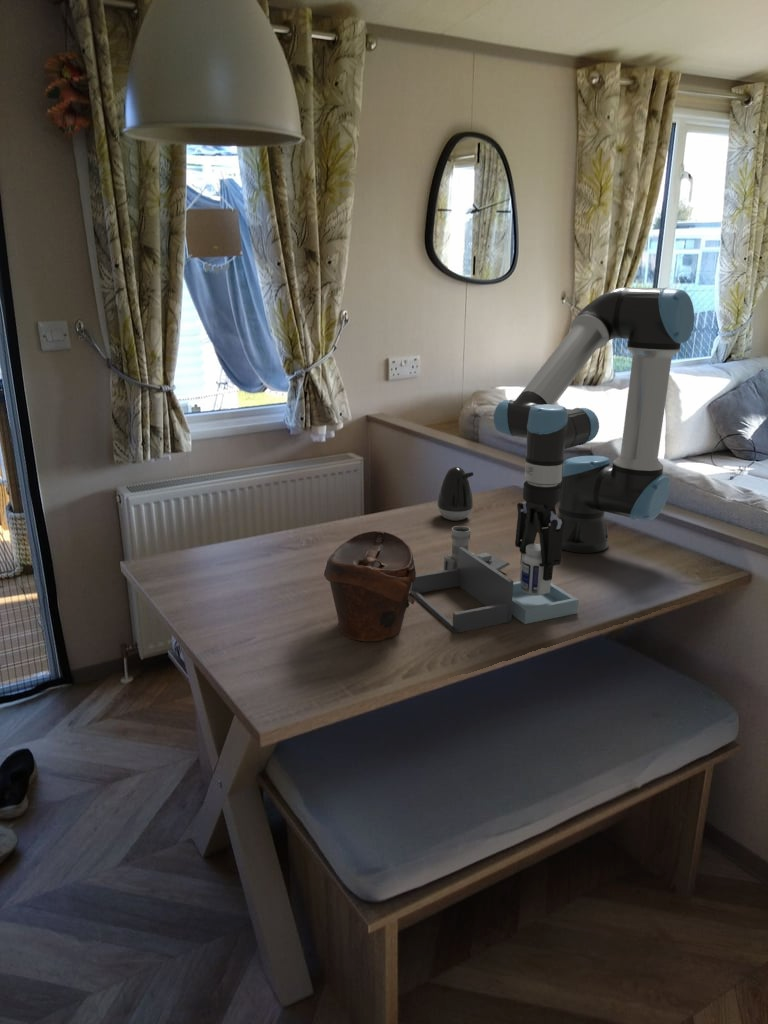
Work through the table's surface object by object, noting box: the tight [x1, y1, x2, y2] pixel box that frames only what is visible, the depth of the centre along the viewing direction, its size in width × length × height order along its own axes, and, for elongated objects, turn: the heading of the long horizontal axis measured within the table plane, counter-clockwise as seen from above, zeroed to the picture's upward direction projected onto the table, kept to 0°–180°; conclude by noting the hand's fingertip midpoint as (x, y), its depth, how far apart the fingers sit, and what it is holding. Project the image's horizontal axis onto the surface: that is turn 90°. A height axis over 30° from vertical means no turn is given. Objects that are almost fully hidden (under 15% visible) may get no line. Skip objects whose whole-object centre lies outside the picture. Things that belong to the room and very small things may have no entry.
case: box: [323, 530, 417, 643], centre depth 147 cm, size 18×20×18 cm
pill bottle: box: [521, 543, 548, 595], centre depth 158 cm, size 6×6×10 cm
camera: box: [443, 525, 510, 572], centre depth 176 cm, size 9×12×15 cm
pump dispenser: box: [436, 466, 474, 522], centre depth 214 cm, size 10×10×15 cm
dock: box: [409, 547, 515, 634], centre depth 158 cm, size 21×13×9 cm, turn 23°
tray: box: [511, 580, 579, 625], centre depth 160 cm, size 13×13×3 cm
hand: (534, 587), depth 159 cm, fingers closed on pill bottle, 6 cm apart
